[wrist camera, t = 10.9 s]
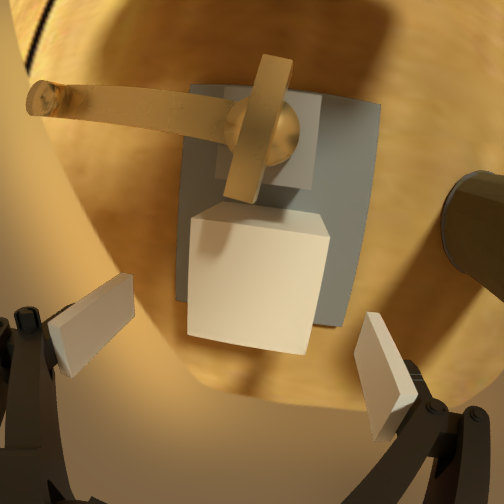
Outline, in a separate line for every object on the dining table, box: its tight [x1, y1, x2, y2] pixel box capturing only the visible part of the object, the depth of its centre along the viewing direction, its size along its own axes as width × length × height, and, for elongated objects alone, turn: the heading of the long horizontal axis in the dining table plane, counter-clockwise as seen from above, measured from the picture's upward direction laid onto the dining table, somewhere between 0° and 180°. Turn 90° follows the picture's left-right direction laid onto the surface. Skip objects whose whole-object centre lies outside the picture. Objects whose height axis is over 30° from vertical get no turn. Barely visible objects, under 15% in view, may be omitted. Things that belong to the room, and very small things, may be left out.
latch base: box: [176, 84, 381, 327], centre depth 20 cm, size 20×16×10 cm
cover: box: [187, 201, 330, 355], centre depth 22 cm, size 8×8×8 cm
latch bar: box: [26, 54, 300, 204], centre depth 12 cm, size 15×6×4 cm, turn 75°
